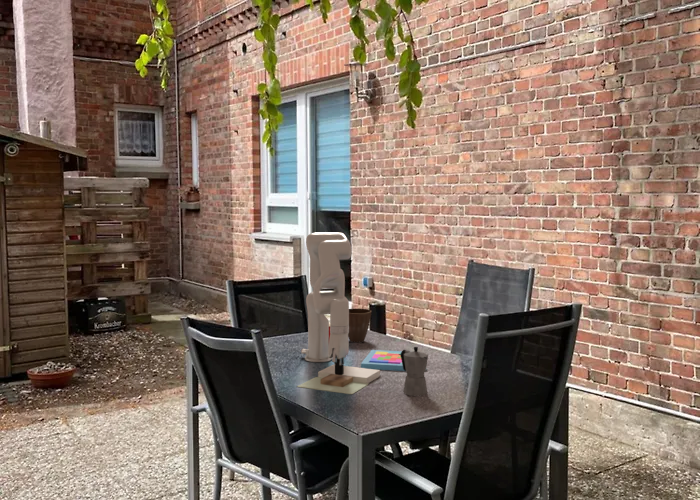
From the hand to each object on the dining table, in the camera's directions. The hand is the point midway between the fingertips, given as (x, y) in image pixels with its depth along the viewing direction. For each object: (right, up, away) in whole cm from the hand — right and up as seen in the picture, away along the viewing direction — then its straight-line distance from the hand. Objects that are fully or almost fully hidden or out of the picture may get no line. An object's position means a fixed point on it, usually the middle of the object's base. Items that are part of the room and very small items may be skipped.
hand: (339, 374), depth 283 cm
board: (+4, -3, +9) cm, 10 cm away
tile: (-1, -3, -1) cm, 4 cm away
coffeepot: (+29, -5, -13) cm, 32 cm away
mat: (-2, -4, -5) cm, 6 cm away
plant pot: (+8, +3, +81) cm, 81 cm away
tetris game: (+26, -2, +34) cm, 43 cm away
